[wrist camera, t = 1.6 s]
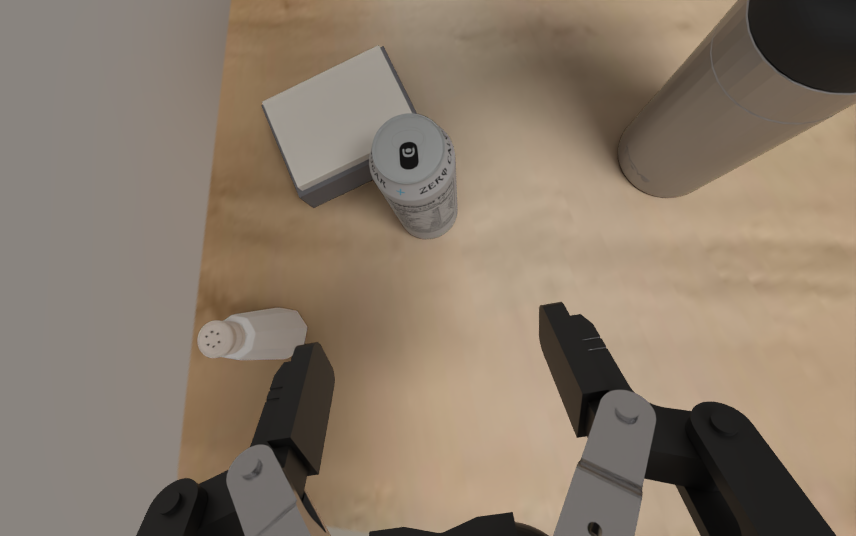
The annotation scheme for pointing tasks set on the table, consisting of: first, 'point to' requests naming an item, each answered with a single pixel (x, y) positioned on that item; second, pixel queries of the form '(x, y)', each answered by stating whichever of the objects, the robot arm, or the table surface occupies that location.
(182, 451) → the table surface
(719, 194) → the table surface
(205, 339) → the pepper shaker
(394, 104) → the podium
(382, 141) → the energy drink can
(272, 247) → the table surface
